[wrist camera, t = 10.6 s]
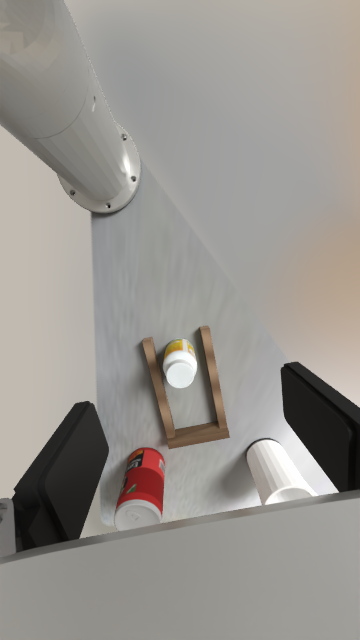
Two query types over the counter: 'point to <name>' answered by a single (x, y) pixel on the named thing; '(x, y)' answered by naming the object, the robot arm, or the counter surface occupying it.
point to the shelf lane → (173, 436)
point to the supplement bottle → (180, 363)
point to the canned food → (141, 491)
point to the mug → (275, 473)
